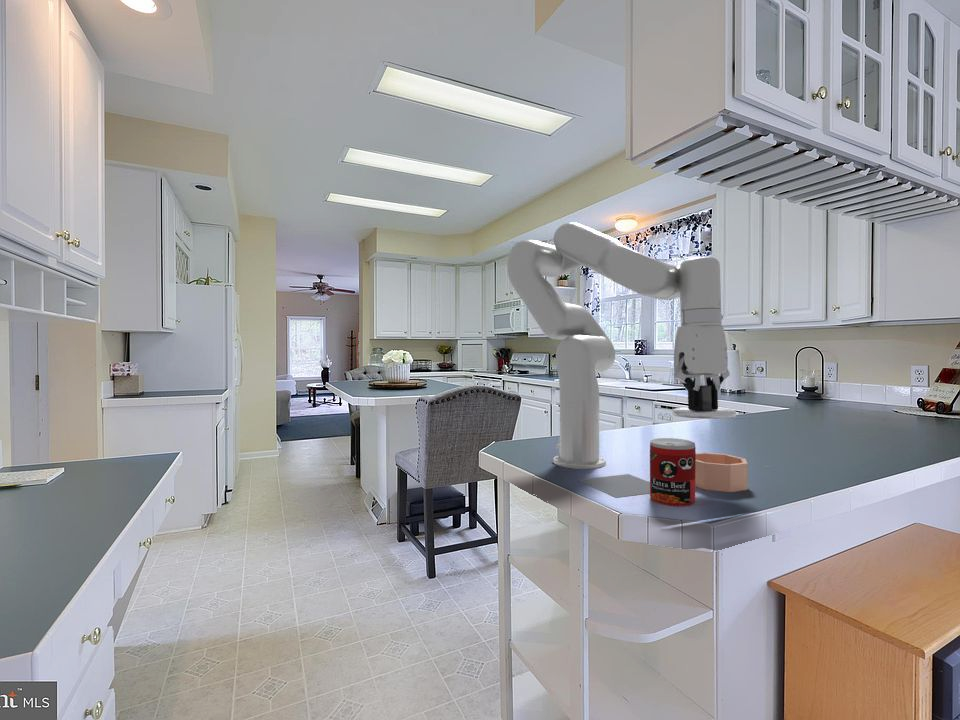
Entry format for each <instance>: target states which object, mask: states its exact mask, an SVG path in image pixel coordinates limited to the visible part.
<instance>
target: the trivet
mask: <svg viewBox="0 0 960 720" xmlns="http://www.w3.org/2000/svg"><path fill="white" fill-rule="evenodd" d="M577 481H579V482H581V483H583V484H585V485H587V486H590V487H591V488H593V489H596V490H598V491H600V492H602V493H604V494H607V495H608V496H610V497H613V498H615V499H618V498H627V497H633V496H634V497H635V496H640V495H641V496H642V495H650V481H649V480H645V479H643V478H639V477H637V476H635V475H632V474H629V473H625V474H616V475H609V476H608V475H607V476H600V477H590V478H582V479H580V478H579V479H577Z"/></svg>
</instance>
